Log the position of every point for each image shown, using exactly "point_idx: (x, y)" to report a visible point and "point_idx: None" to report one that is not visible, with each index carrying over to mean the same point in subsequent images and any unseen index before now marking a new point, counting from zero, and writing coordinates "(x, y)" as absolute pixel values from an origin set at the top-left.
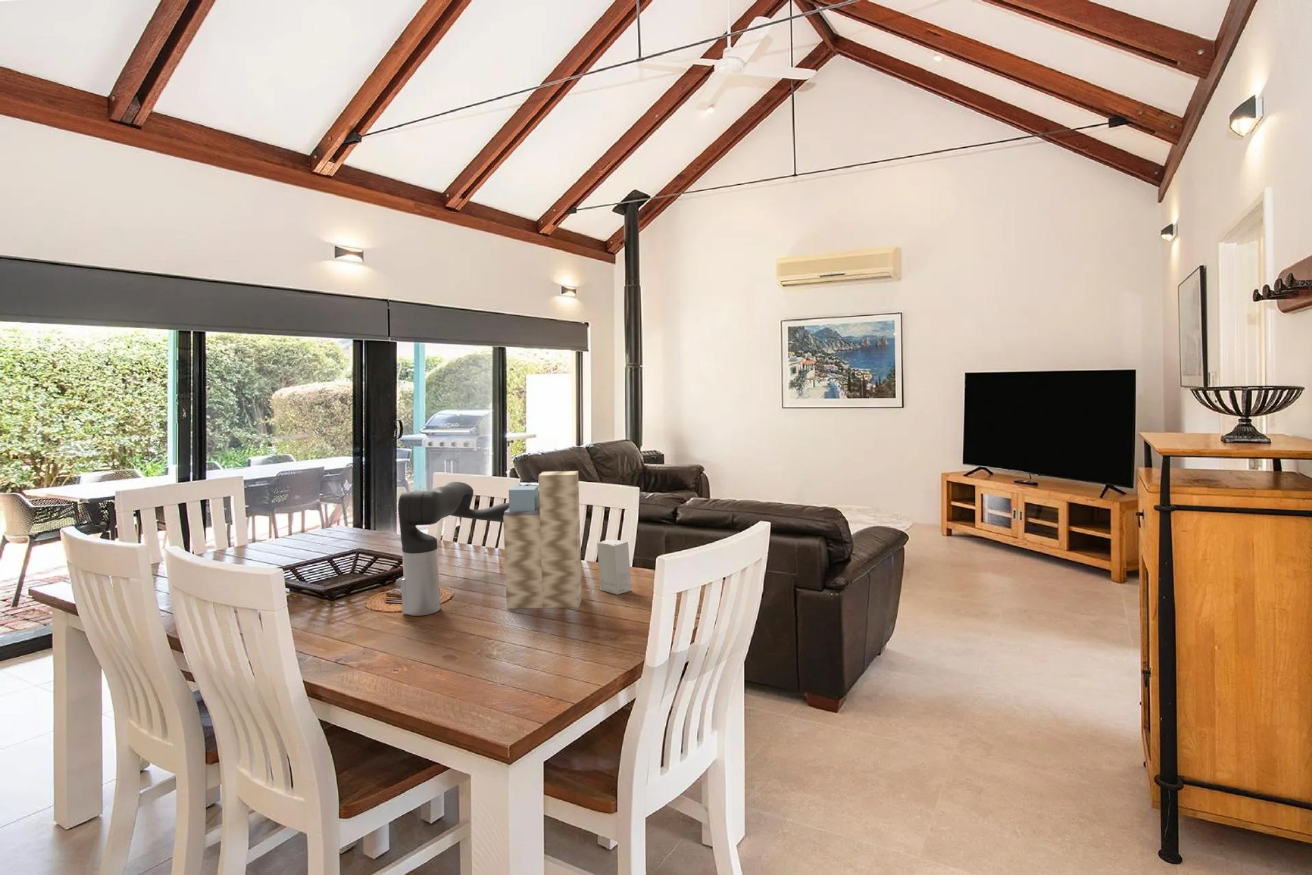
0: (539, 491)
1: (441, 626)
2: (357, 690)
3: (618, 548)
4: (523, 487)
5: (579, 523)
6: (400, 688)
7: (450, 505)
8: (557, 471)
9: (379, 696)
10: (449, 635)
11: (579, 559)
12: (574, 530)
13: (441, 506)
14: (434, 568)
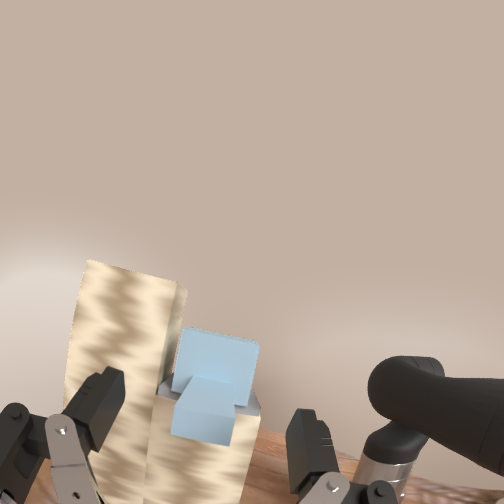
0: (179, 327)
1: (291, 499)
2: (283, 436)
3: None
4: (223, 336)
5: (66, 394)
6: (257, 434)
7: (444, 421)
8: (136, 272)
9: (265, 431)
10: (266, 482)
11: None
12: None
13: (383, 387)
14: (353, 477)
